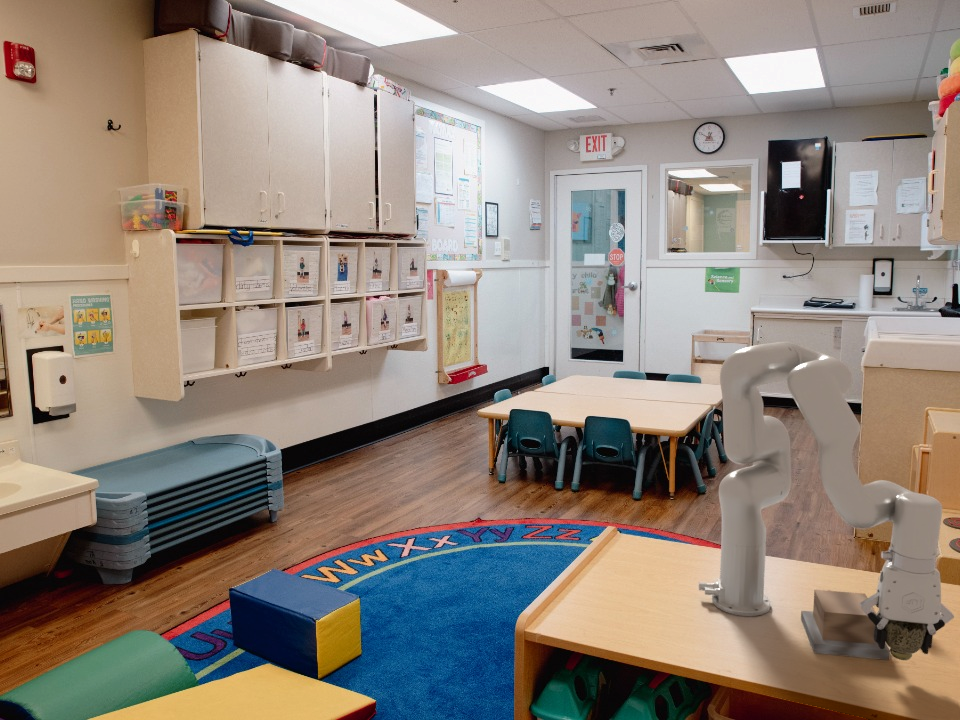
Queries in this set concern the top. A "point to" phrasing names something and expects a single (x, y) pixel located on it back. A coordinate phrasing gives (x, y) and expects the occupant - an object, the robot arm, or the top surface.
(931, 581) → the robot arm
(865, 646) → the brown block on base
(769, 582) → the top surface
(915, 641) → the cup
